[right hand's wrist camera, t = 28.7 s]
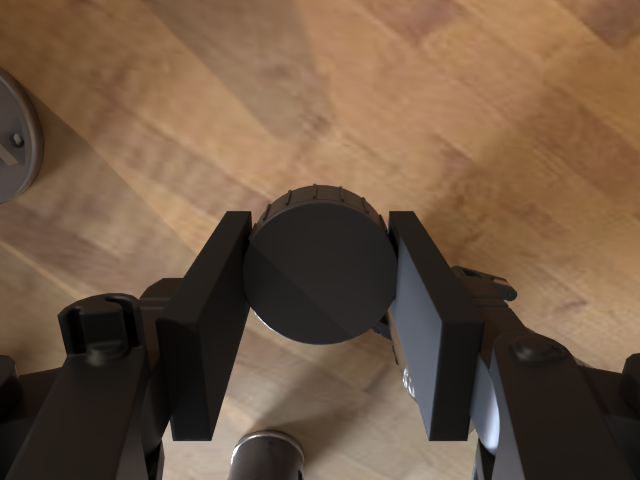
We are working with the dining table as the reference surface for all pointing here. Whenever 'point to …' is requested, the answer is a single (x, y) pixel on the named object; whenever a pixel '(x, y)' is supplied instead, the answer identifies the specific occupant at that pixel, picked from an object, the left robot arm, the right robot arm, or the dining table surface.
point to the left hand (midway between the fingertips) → (386, 293)
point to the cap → (320, 266)
